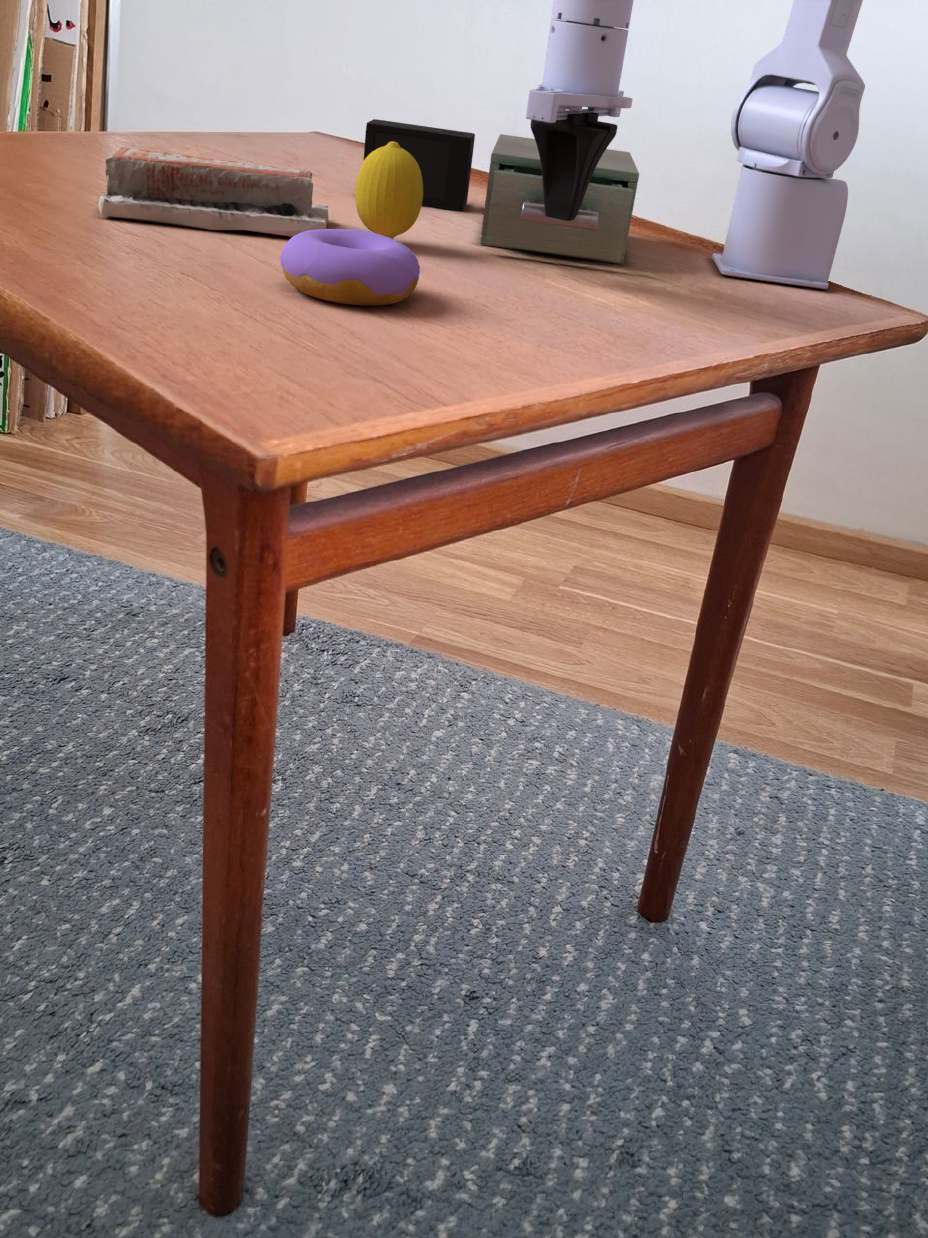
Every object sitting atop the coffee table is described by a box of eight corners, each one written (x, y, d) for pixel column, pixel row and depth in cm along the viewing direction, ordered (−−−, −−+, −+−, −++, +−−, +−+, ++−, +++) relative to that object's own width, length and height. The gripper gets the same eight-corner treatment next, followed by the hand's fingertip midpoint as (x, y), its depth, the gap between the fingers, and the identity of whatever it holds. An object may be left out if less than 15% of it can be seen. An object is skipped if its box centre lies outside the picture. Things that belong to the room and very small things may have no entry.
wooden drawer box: (622, 264, 104) (639, 173, 101) (479, 244, 104) (491, 152, 101) (615, 233, 118) (630, 151, 115) (489, 215, 118) (499, 133, 115)
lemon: (409, 254, 97) (419, 149, 93) (343, 243, 98) (351, 139, 94) (424, 243, 102) (434, 143, 98) (361, 232, 103) (369, 133, 99)
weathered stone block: (95, 153, 92) (118, 137, 101) (96, 218, 94) (119, 197, 103) (329, 180, 94) (332, 162, 103) (325, 243, 97) (328, 221, 105)
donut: (249, 271, 83) (265, 200, 82) (356, 293, 89) (373, 228, 88) (324, 309, 77) (343, 233, 75) (435, 331, 83) (454, 261, 81)
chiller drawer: (622, 274, 96) (636, 199, 93) (481, 254, 96) (491, 178, 93) (613, 232, 113) (624, 167, 110) (494, 215, 113) (502, 150, 110)
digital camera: (469, 203, 123) (477, 131, 120) (463, 211, 119) (472, 136, 115) (369, 189, 124) (375, 116, 120) (360, 196, 119) (366, 121, 116)
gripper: (607, 29, 80) (573, 238, 86) (671, 34, 92) (638, 218, 98) (511, 14, 82) (485, 219, 88) (586, 22, 94) (558, 202, 100)
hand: (560, 217), depth 93 cm, fingers closed
